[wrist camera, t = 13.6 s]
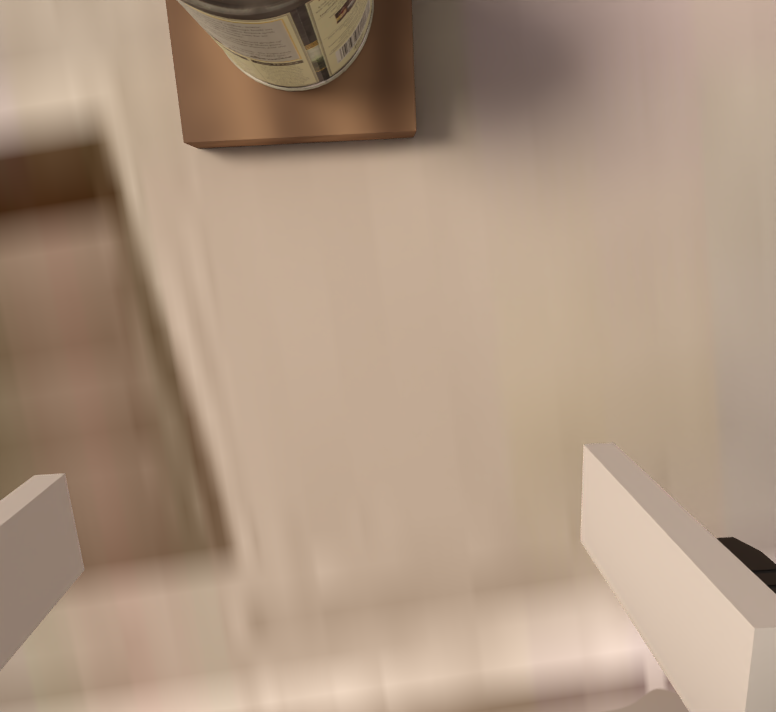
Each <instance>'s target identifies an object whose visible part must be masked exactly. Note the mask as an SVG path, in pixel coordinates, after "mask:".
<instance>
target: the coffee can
mask: <svg viewBox="0 0 776 712" xmlns="http://www.w3.org/2000/svg"><path fill="white" fill-rule="evenodd" d="M177 1H178V2H179V3H180V4H181V5H182V6H183V7H184V8H185V9H186V11H187V12H188V13H189V14H190V15H191V16H192V17H193V18H194V19H195V20H196V21H197V22H198V23H199V25H200V26H201V27H202V28H203V29H204V30H205V31H206V32H207V33H208V34H209V35H210V36H211V37H212V38H213V40H214V41H215V42H216V43H217V44H218V45H219V46H220V47H221V48H222V49H223V50H224V52H225V53H226V55H227V56H228V58H229V59H230V60H231V61H232V62H233V63H234V64H235V65H236V66H237V67H238V68H239V69H240V70H241V71H242V72H243V73H245V74H246V75H247V76H249V77H250V78H252V79H254V80H255V81H257V82H259V83H261V84H263V85H266V86H269V87H272V88H275V89H280V90H285V91H304V90H309V89H314V88H317V87H320V86H322V85H325V84H327V83H329V82H331V81H332V80H334V79H335V78H337V77H338V76H340V75H341V74H342V73H343V72H345V71H346V70H347V69H348V67H349V66H350V65H351V64H352V63H353V62H354V60H355V59H356V58H357V56H358V55H359V53H360V51H361V50H362V48H363V46H364V44H365V42H366V39H367V37H368V34H369V30H370V27H371V23H372V18H373V11H374V0H177Z"/></svg>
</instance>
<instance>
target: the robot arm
mask: <svg viewBox="0 0 776 712" xmlns="http://www.w3.org/2000/svg"><path fill="white" fill-rule="evenodd" d="M581 543H582V544H583V546H584V548H585V549H586V551H587V552H588V554H589V555H590V557H591V559H592V560H593V562H594V563H595V565H596V566H597V568H598V570H599V571H600V573H601V574H602V576H603V577H604V579H605V580H606V582H607V584H608V585H609V587H610V588H611V590H612V591H613V593H614V595H615V596H616V598H617V599H618V601H619V602H620V604H621V606H622V607H623V609H624V610H625V612H626V613H627V615H628V617H629V618H630V620H631V621H632V623H633V624H634V626H635V628H636V629H637V631H638V632H639V634H640V635H641V637H642V638H643V640H644V642H645V643H646V645H647V646H648V648H649V649H650V651H651V653H652V654H653V656H654V657H655V659H656V660H657V662H658V664H659V665H660V667H661V668H662V670H663V671H664V673H665V675H666V676H667V678H668V679H669V681H670V682H671V684H672V686H673V687H674V689H675V690H676V692H677V693H678V695H679V696H680V698H681V700H682V701H683V703H684V704H685V706H686V707H687V709H688V710H689V712H776V564H775V563H774V562H773V561H771V560H770V559H769V558H768V557H767V556H766V555H764V554H763V553H762V552H761V551H759V550H757V549H755V548H753V547H751V546H749V545H747V544H745V543H744V542H742V541H740V540H738V539H736V538H734V537H728V538H715V537H714V536H713V535H712V534H711V533H710V532H709V531H708V530H707V529H706V528H705V527H704V526H703V525H701V524H700V523H699V522H698V521H697V520H696V519H695V518H694V517H693V516H692V515H691V514H690V513H689V512H688V511H686V510H685V509H684V508H683V507H682V506H681V505H680V504H679V503H678V502H677V501H676V500H675V499H674V498H673V497H671V496H670V495H669V494H668V493H667V492H666V491H665V490H664V489H663V488H662V487H661V486H660V485H659V484H658V483H656V482H655V481H654V480H653V479H652V478H651V477H650V476H649V475H648V474H647V473H646V472H645V471H644V470H643V469H641V468H640V467H639V466H638V465H637V464H636V463H635V462H634V461H633V460H632V459H631V458H630V457H629V456H628V455H626V454H625V453H624V452H623V451H622V450H621V449H620V448H619V447H618V446H617V445H616V444H615V443H597V444H584V448H583V479H582V510H581ZM83 571H84V565H83V560H82V555H81V551H80V546H79V541H78V536H77V531H76V526H75V521H74V516H73V511H72V506H71V501H70V496H69V491H68V486H67V481H66V476H65V474H48V475H34V476H33V477H31V478H30V479H29V480H27V481H26V482H25V483H23V484H22V485H21V486H19V487H18V488H17V489H15V490H14V491H13V492H11V493H10V494H9V495H7V496H6V497H5V498H3V499H2V500H1V501H0V671H1V669H2V668H3V667H4V666H5V665H6V663H7V662H8V661H9V660H10V659H11V657H12V656H13V655H14V654H15V653H16V651H17V650H18V649H19V648H20V647H21V645H22V644H23V643H24V642H25V641H26V639H27V638H28V637H29V636H30V635H31V633H32V632H33V631H34V630H35V629H36V627H37V626H38V625H39V624H40V623H41V621H42V620H43V619H44V618H45V617H46V615H47V614H48V613H49V612H50V611H51V609H52V608H53V607H54V606H55V605H56V603H57V602H58V601H59V600H60V599H61V597H62V596H63V595H64V594H65V593H66V591H67V590H68V589H69V588H70V587H71V585H72V584H73V583H74V582H75V581H76V579H77V578H78V577H79V576H80V575H81V573H82V572H83Z"/></svg>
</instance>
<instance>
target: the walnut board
mask: <svg viewBox="0 0 776 712" xmlns="http://www.w3.org/2000/svg"><path fill="white" fill-rule="evenodd" d="M166 7H167V15H168V23H169V30H170V38H171V46H172V54H173V62H174V69H175V77H176V85H177V93H178V101H179V108H180V116H181V124H182V132H183V139H184V143H186V144H189V145H191V146H193V147H196V148H216V147H236V146H255V145H275V144H294V143H314V142H333V141H353V140H372V139H392V138H411V137H414V135H415V132H416V109H415V82H414V55H413V28H412V0H374V11H373V18H372V23H371V27H370V30H369V34H368V37H367V39H366V42H365V44H364V46H363V48H362V50H361V51H360V53H359V55H358V56H357V58H356V59H355V60H354V62H353V63H352V64H351V65H350V66H349V67H348V69H347V70H346V71H345V72H343V73H342V74H341V75H340V76H338V77H337V78H335V79H334V80H332V81H331V82H329V83H327V84H325V85H322V86H320V87H317V88H314V89H309V90H304V91H285V90H280V89H275V88H272V87H269V86H266V85H263V84H261V83H259V82H257V81H255V80H254V79H252V78H250V77H249V76H247V75H246V74H245V73H243V72H242V71H241V70H240V69H239V68H238V67H237V66H236V65H235V64H234V63H233V62H232V61H231V60H230V59H229V58H228V56H227V55H226V53H225V52H224V50H223V49H222V48H221V47H220V46H219V45H218V44H217V43H216V42H215V41H214V40H213V38H212V37H211V36H210V35H209V34H208V33H207V32H206V31H205V30H204V29H203V28H202V27H201V26H200V25H199V23H198V22H197V21H196V20H195V19H194V18H193V17H192V16H191V15H190V14H189V13H188V12H187V11H186V9H185V8H184V7H183V6H182V5H181V4H180V3H179V2H178V1H177V0H166Z"/></svg>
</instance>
